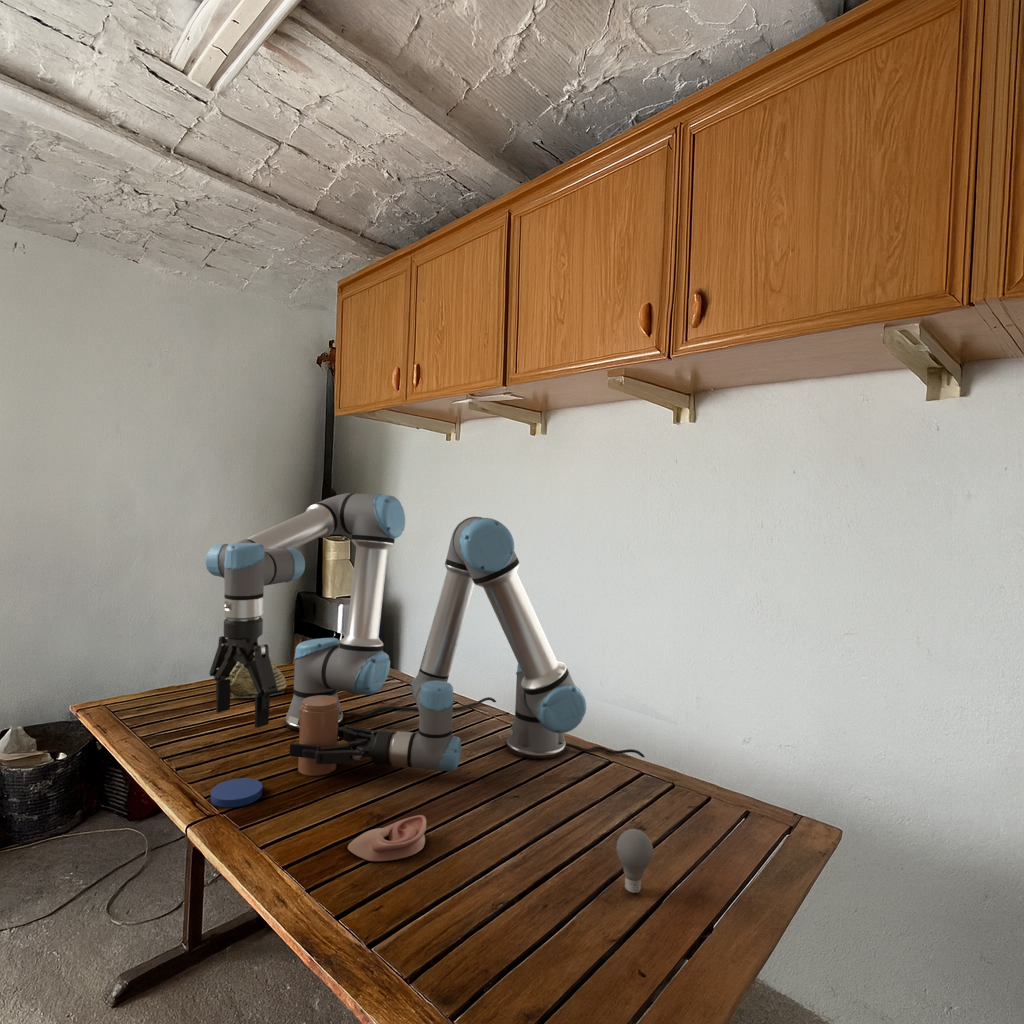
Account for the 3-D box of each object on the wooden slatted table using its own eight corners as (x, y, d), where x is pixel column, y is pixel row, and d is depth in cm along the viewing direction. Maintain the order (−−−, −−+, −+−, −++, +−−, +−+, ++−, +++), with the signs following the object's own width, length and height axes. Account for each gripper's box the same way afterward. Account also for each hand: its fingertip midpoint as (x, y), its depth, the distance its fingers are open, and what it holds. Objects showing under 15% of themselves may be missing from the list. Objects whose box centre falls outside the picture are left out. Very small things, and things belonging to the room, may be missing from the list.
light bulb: (610, 879, 108) (613, 822, 108) (644, 879, 109) (647, 822, 109) (619, 902, 102) (622, 840, 102) (655, 901, 103) (658, 840, 103)
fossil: (218, 695, 195) (220, 647, 195) (278, 685, 208) (279, 640, 207) (228, 703, 189) (230, 653, 188) (289, 692, 201) (290, 645, 201)
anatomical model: (340, 834, 112) (368, 804, 123) (339, 856, 112) (367, 824, 123) (411, 845, 109) (433, 813, 120) (410, 868, 109) (432, 834, 120)
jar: (316, 779, 142) (319, 709, 142) (289, 769, 146) (292, 701, 146) (344, 765, 149) (347, 699, 149) (317, 757, 154) (320, 692, 153)
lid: (222, 784, 137) (222, 777, 137) (268, 785, 138) (269, 778, 138) (202, 807, 127) (202, 799, 127) (252, 808, 128) (252, 800, 128)
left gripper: (193, 611, 136) (191, 709, 137) (264, 629, 122) (262, 738, 123) (225, 606, 142) (224, 700, 143) (297, 623, 128) (294, 726, 129)
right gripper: (376, 787, 134) (277, 777, 137) (406, 745, 157) (321, 738, 160) (377, 751, 134) (278, 743, 137) (407, 715, 157) (322, 708, 160)
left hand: (241, 718), depth 133 cm, fingers open, 13 cm apart
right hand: (301, 740), depth 148 cm, fingers open, 11 cm apart
